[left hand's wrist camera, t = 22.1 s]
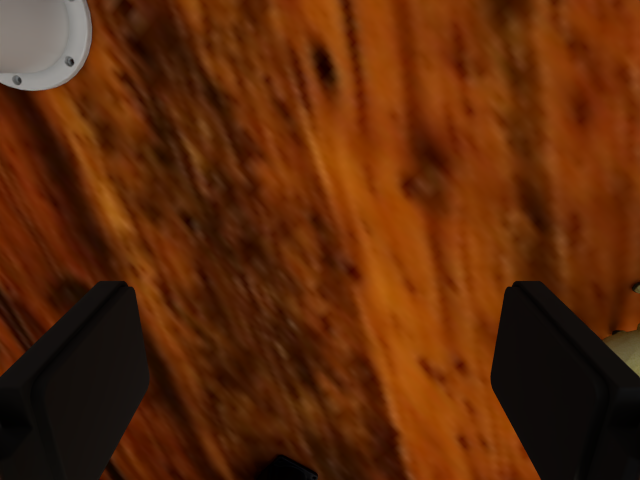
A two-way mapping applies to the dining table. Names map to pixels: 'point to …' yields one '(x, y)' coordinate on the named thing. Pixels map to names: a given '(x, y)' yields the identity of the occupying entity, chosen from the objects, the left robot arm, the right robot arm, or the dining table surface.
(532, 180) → the dining table surface
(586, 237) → the dining table surface
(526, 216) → the dining table surface
